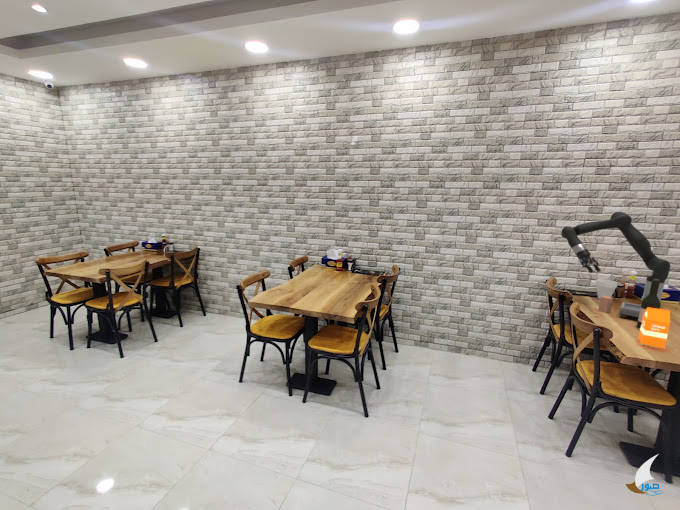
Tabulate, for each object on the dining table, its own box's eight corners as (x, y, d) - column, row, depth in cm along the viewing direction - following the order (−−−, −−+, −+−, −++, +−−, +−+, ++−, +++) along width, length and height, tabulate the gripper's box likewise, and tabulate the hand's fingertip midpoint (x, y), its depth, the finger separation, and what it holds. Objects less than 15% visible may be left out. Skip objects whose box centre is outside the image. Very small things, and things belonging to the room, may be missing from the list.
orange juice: (664, 349, 166) (672, 312, 162) (641, 345, 170) (649, 309, 166) (659, 343, 172) (667, 308, 168) (637, 339, 177) (645, 304, 173)
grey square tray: (621, 311, 216) (623, 302, 215) (649, 317, 207) (652, 307, 205) (618, 317, 207) (620, 307, 205) (648, 324, 197) (651, 313, 195)
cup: (596, 300, 239) (599, 282, 236) (591, 295, 250) (594, 278, 247) (617, 302, 234) (620, 284, 231) (610, 297, 245) (614, 279, 242)
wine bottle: (650, 326, 193) (661, 278, 187) (658, 332, 186) (670, 282, 179) (633, 324, 196) (643, 276, 190) (640, 330, 188) (651, 280, 182)
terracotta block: (598, 310, 218) (600, 296, 216) (602, 309, 220) (605, 295, 218) (605, 313, 214) (608, 298, 212) (610, 312, 216) (613, 297, 214)
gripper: (579, 249, 222) (594, 269, 214) (592, 248, 228) (607, 268, 220) (570, 254, 228) (584, 275, 220) (582, 253, 234) (596, 273, 226)
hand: (595, 271), depth 220 cm, fingers open, 8 cm apart
